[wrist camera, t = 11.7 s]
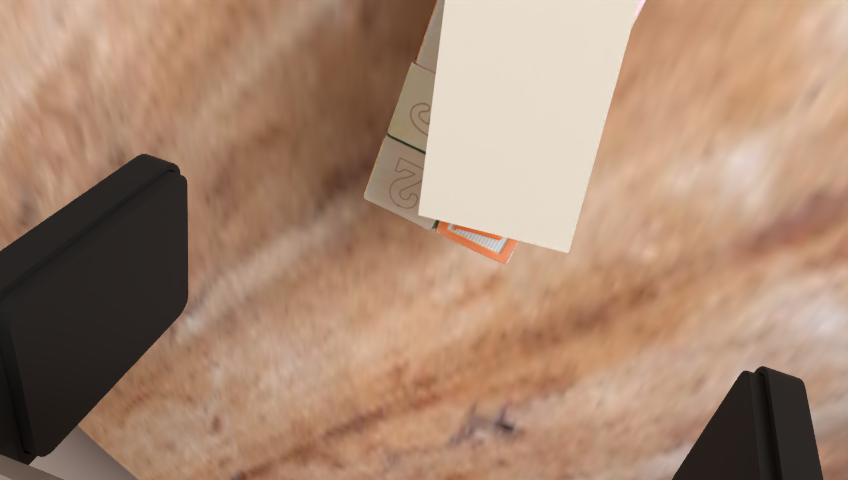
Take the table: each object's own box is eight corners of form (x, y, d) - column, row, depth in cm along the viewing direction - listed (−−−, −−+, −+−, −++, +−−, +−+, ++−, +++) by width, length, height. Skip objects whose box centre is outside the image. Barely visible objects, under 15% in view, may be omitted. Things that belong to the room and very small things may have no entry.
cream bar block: (665, -116, 19) (663, -87, 15) (585, 174, 24) (568, 253, 20) (502, -142, 20) (460, -121, 16) (458, 144, 25) (418, 214, 21)
